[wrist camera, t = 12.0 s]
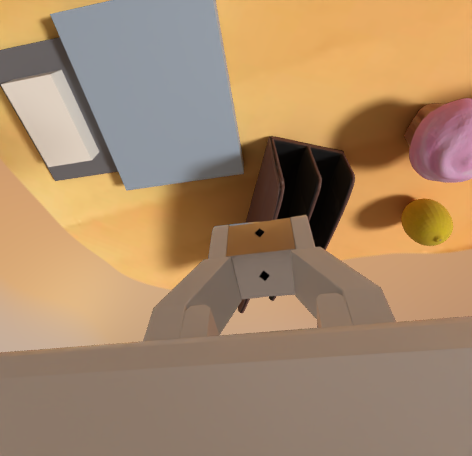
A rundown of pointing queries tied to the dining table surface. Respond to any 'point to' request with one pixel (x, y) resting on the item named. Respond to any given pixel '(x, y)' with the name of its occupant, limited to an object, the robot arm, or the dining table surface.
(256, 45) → the dining table surface
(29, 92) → the tile
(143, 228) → the dining table surface
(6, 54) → the mat
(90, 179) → the dining table surface
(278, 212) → the letter holder
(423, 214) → the lemon
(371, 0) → the dining table surface
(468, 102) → the cupcake
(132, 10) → the panel
